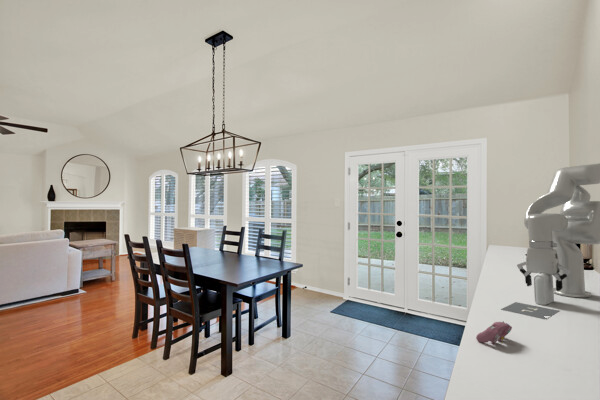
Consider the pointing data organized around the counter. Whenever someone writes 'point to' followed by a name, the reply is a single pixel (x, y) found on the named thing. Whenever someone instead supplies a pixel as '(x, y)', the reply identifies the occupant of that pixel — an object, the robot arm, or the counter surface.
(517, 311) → the dark gray panel
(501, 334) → the video game controller
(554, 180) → the robot arm
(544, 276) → the photo printer
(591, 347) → the counter surface
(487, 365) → the counter surface
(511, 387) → the counter surface
